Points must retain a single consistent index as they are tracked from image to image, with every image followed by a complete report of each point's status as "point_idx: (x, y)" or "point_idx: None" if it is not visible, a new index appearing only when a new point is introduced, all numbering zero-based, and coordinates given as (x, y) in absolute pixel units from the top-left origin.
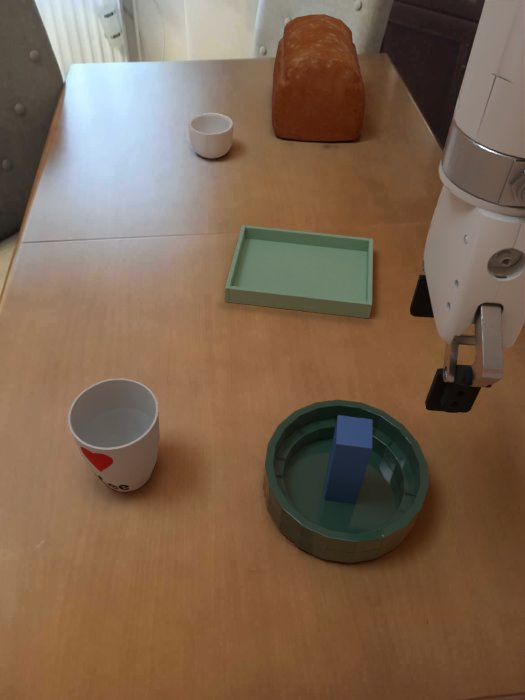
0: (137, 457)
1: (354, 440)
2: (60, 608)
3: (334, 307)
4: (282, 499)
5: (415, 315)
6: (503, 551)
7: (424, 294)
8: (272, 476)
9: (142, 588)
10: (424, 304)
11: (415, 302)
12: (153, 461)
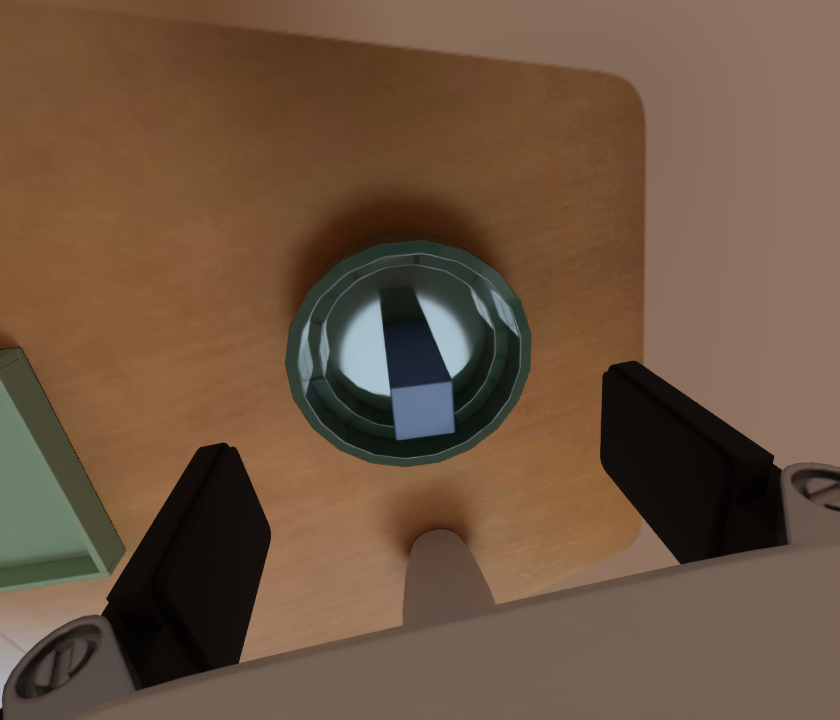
0: (484, 594)
1: (442, 408)
2: (578, 539)
3: (39, 417)
4: (486, 432)
5: (267, 528)
6: (451, 83)
7: (239, 609)
8: (455, 450)
9: (555, 492)
10: (251, 559)
11: (257, 585)
12: (452, 555)
